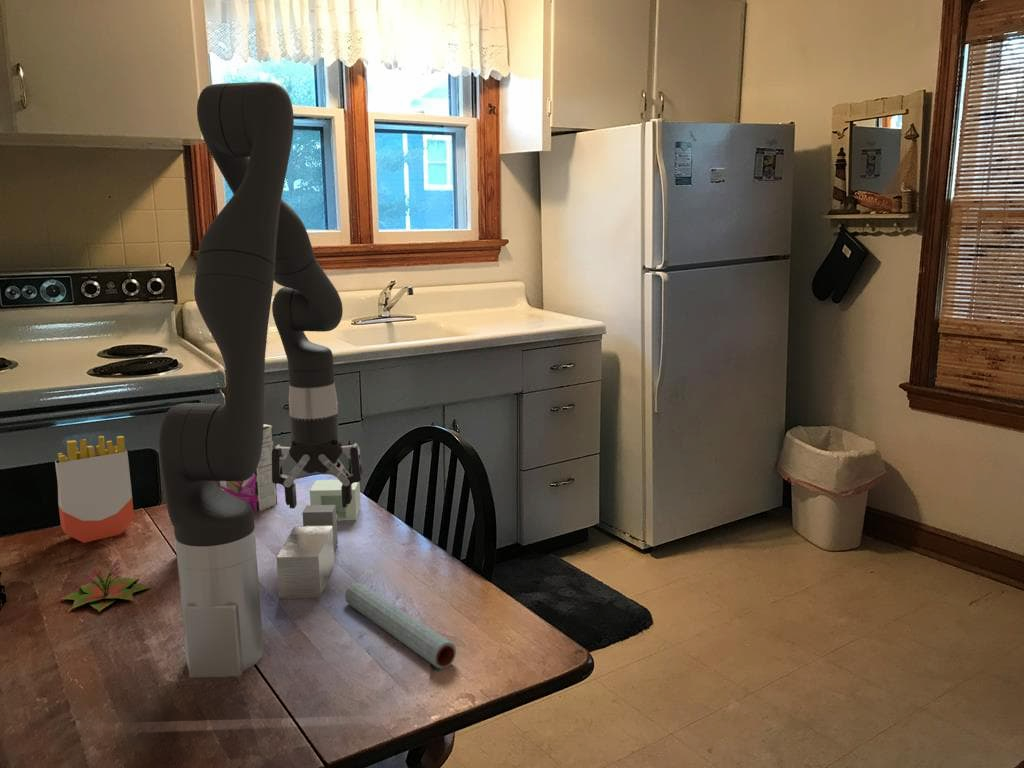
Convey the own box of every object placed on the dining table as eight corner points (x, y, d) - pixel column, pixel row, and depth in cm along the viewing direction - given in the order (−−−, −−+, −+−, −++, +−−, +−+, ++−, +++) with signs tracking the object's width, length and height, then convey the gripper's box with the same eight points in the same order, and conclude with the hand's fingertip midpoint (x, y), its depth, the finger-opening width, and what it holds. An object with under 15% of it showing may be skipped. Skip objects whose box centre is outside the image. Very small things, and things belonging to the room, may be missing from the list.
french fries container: (62, 539, 144) (49, 438, 140) (129, 525, 150) (119, 428, 146) (67, 547, 140) (54, 444, 136) (135, 532, 147) (125, 433, 143)
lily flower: (42, 605, 121) (38, 575, 120) (115, 573, 131) (112, 546, 130) (97, 623, 115) (93, 592, 114) (168, 589, 125) (165, 560, 124)
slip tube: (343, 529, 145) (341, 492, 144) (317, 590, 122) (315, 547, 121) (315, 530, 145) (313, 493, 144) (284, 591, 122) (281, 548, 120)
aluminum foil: (457, 664, 104) (457, 639, 103) (412, 682, 100) (411, 656, 99) (365, 601, 121) (364, 579, 120) (323, 614, 117) (322, 591, 116)
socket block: (360, 511, 156) (359, 479, 155) (356, 523, 150) (354, 489, 149) (317, 512, 156) (316, 480, 154) (311, 524, 150) (309, 490, 148)
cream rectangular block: (334, 563, 133) (332, 525, 132) (320, 597, 121) (318, 556, 120) (296, 564, 133) (294, 526, 131) (279, 598, 121) (276, 557, 120)
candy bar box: (218, 504, 160) (212, 422, 157) (239, 497, 164) (233, 416, 161) (258, 515, 154) (252, 430, 151) (279, 507, 159) (273, 424, 155)
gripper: (263, 417, 129) (270, 515, 133) (355, 416, 130) (360, 513, 133) (274, 406, 137) (281, 499, 140) (361, 404, 137) (366, 497, 141)
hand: (319, 506), depth 137 cm, fingers open, 8 cm apart
